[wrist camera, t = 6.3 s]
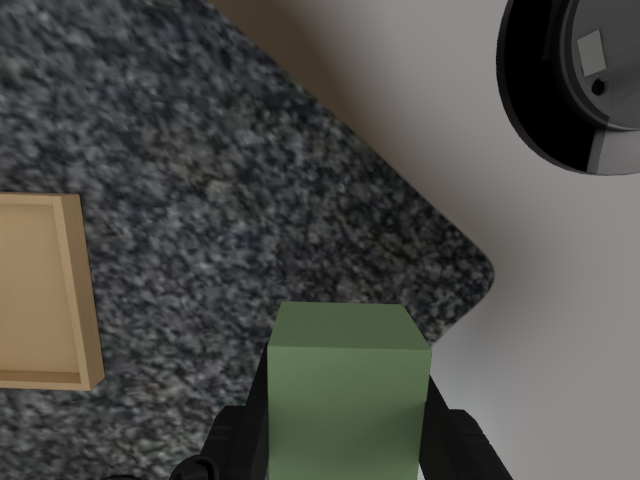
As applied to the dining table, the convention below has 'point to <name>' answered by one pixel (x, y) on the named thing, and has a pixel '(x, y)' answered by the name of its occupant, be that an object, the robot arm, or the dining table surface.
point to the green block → (345, 392)
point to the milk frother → (120, 478)
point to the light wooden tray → (46, 295)
